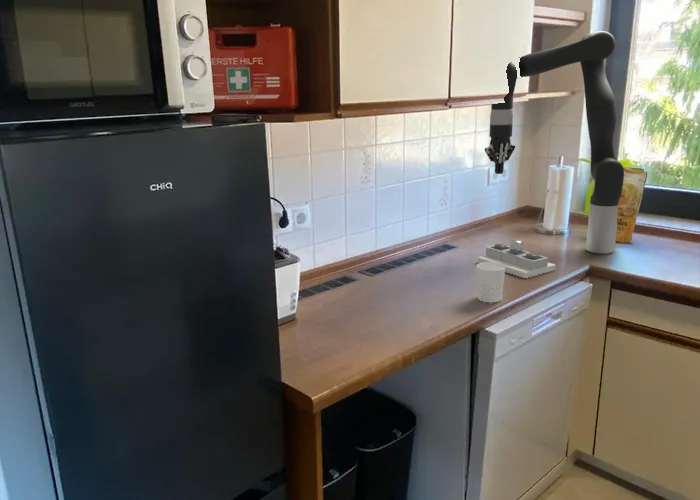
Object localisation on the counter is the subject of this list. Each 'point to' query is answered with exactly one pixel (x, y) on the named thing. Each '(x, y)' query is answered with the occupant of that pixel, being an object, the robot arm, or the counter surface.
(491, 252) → the panel
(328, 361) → the counter surface
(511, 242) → the steel knob
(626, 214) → the pancake mix bag
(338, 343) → the counter surface
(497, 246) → the charcoal knob
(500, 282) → the white cup
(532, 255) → the charcoal knob
